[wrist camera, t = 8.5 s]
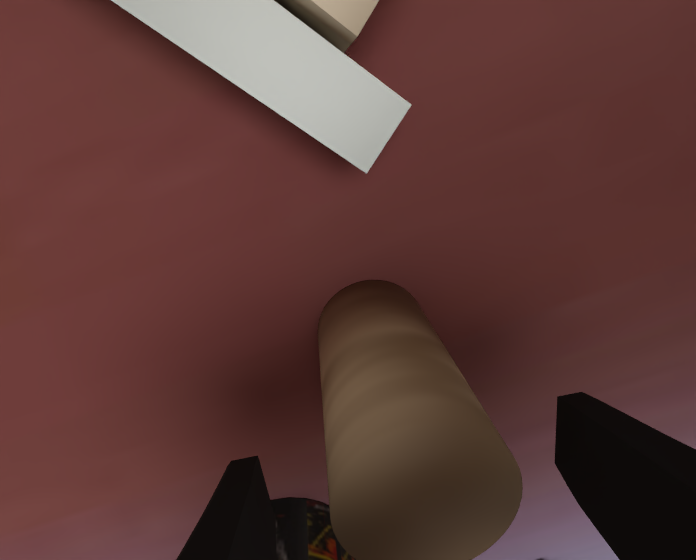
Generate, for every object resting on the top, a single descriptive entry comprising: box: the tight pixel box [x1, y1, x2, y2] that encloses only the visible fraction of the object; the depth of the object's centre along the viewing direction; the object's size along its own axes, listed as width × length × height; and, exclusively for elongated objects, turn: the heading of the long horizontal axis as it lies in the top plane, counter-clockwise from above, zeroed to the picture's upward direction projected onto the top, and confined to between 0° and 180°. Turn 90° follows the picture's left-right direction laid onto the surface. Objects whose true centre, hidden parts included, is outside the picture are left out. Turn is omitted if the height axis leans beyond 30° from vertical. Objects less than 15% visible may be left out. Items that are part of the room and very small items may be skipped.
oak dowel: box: [318, 280, 522, 560], centre depth 13 cm, size 4×4×8 cm
